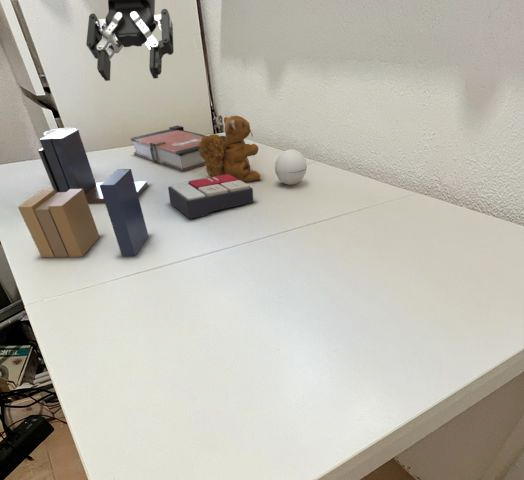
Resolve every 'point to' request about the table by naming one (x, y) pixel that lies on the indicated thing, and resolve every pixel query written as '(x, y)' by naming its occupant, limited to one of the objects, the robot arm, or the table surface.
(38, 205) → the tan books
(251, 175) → the stuffed squirrel
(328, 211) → the table surface
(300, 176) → the seamed sphere
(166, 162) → the book
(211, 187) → the grey and red device
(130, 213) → the navy book
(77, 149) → the book stand
